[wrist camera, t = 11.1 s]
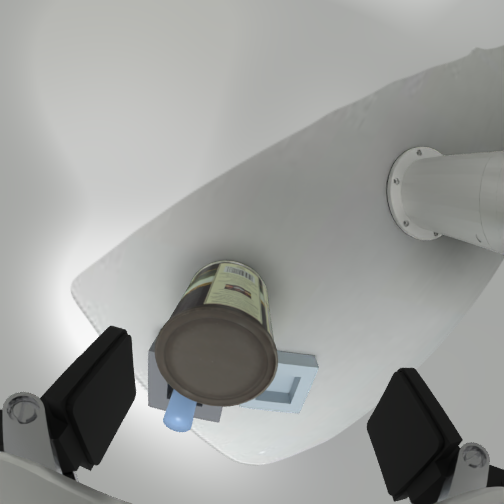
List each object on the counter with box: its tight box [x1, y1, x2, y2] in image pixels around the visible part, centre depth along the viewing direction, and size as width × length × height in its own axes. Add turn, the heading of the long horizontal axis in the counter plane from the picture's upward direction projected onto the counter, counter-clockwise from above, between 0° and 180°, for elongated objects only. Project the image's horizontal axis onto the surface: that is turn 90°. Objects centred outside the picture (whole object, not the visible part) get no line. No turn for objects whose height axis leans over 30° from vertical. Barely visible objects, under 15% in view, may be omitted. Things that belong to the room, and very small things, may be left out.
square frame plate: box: [239, 351, 319, 413], centre depth 36 cm, size 9×9×3 cm
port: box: [148, 337, 222, 422], centre depth 34 cm, size 10×10×6 cm
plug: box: [163, 390, 197, 432], centre depth 32 cm, size 3×3×12 cm
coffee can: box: [155, 261, 278, 407], centre depth 28 cm, size 10×10×14 cm
